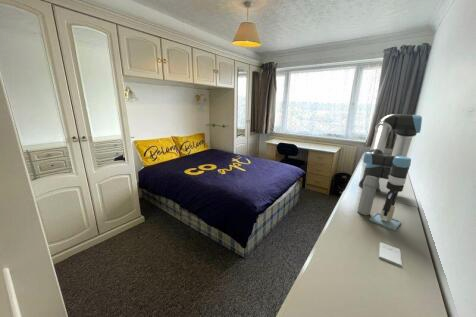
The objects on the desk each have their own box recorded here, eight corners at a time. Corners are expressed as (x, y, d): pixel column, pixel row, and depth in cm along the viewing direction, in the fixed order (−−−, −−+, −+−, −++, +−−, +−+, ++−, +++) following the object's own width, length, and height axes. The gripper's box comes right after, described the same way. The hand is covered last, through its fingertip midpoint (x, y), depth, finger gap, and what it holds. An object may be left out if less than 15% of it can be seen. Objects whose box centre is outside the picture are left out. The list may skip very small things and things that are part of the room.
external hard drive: (378, 259, 89) (379, 244, 99) (401, 268, 85) (399, 251, 94) (379, 256, 89) (380, 241, 98) (402, 265, 84) (400, 249, 94)
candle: (378, 217, 118) (381, 202, 116) (384, 215, 120) (388, 201, 117) (387, 222, 113) (391, 207, 111) (393, 220, 115) (397, 205, 112)
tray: (376, 213, 126) (376, 211, 126) (400, 223, 117) (401, 221, 116) (368, 220, 118) (369, 218, 118) (394, 231, 109) (395, 229, 108)
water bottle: (356, 208, 132) (364, 174, 125) (370, 212, 128) (379, 176, 121) (356, 214, 124) (364, 178, 117) (371, 218, 120) (380, 181, 113)
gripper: (392, 177, 119) (383, 210, 125) (382, 184, 107) (373, 220, 114) (407, 181, 113) (397, 216, 120) (399, 189, 102) (388, 227, 108)
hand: (385, 218), depth 117 cm, fingers closed on candle, 5 cm apart
